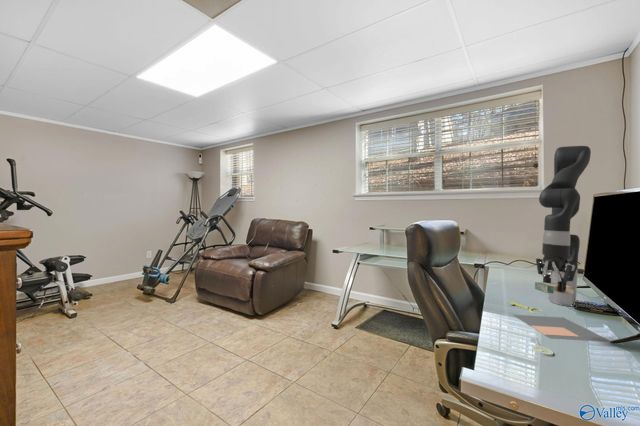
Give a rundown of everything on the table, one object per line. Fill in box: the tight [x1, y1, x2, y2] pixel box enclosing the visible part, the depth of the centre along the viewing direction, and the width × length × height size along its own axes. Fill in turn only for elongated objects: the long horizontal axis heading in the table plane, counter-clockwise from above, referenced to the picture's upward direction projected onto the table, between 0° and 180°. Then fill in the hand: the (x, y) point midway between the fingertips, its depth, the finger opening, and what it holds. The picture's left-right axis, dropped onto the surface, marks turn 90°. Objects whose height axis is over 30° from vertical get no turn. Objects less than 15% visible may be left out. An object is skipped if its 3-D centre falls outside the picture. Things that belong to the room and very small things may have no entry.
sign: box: [531, 341, 554, 357], centre depth 88 cm, size 5×1×15 cm
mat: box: [512, 314, 613, 343], centre depth 100 cm, size 20×20×1 cm
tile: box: [534, 281, 574, 294], centre depth 98 cm, size 10×5×2 cm, turn 93°
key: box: [509, 301, 544, 315], centre depth 118 cm, size 7×12×2 cm, turn 53°
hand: (553, 289), depth 98 cm, fingers closed on tile, 5 cm apart
